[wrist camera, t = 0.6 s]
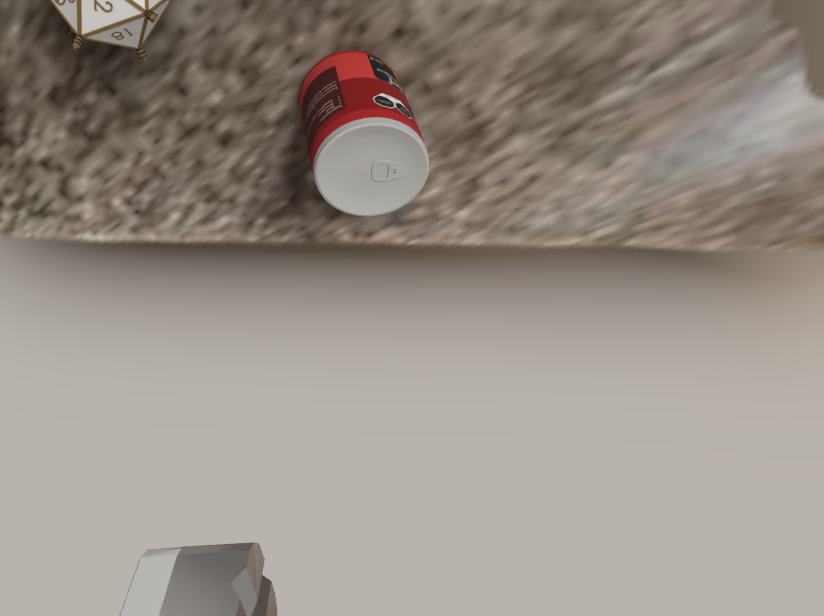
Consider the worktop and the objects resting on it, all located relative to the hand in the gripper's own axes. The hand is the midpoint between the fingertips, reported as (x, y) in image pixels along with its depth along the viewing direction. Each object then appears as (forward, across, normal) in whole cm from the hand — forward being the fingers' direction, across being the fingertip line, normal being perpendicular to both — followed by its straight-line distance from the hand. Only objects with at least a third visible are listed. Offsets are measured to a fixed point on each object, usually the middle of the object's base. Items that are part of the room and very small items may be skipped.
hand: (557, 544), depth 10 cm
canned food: (+53, +7, +9) cm, 54 cm away
